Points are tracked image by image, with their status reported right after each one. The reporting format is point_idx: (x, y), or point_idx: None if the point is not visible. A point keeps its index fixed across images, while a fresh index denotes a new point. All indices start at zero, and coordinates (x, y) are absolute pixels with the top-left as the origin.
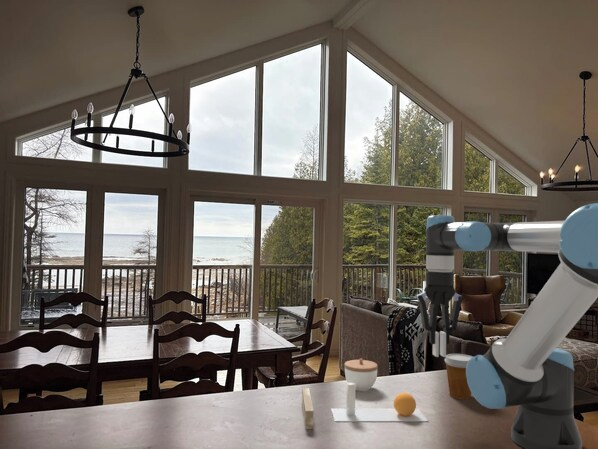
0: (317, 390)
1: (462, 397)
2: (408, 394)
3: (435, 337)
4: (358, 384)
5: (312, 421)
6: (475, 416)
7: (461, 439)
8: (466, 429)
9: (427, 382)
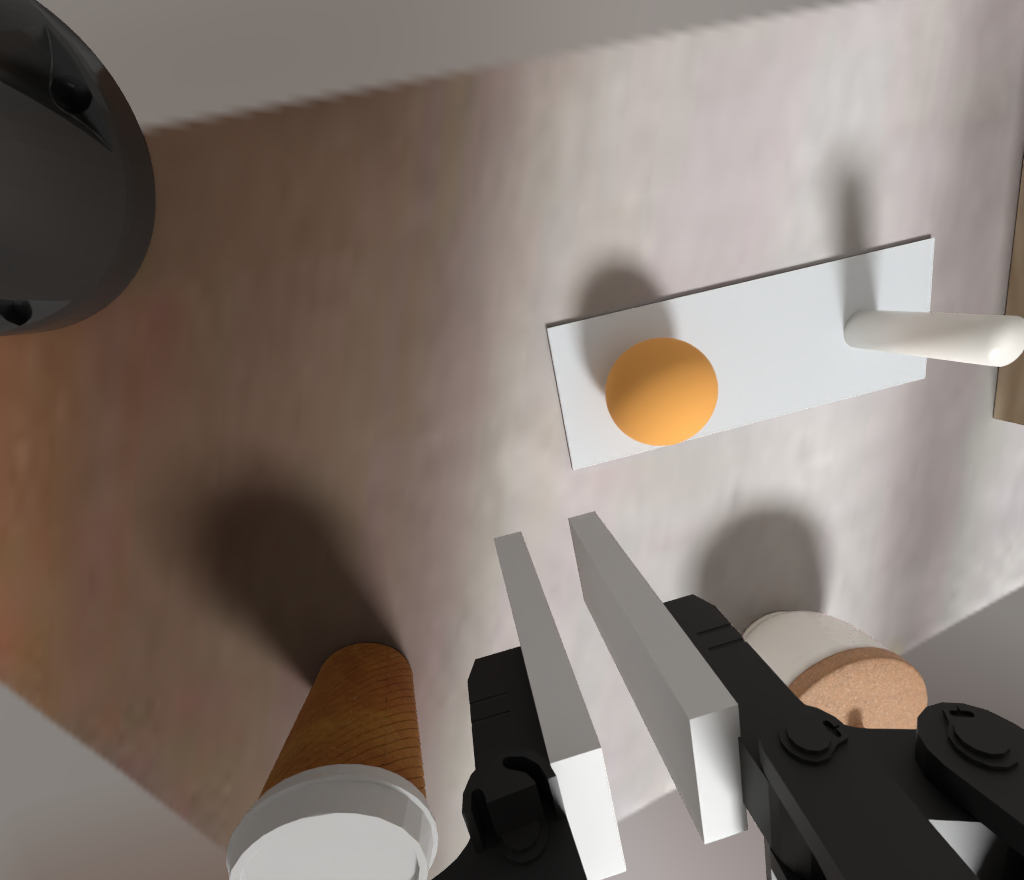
0: (937, 567)
1: (357, 647)
2: (668, 398)
3: (693, 662)
4: (813, 612)
5: None
6: (317, 449)
7: (414, 133)
8: (376, 271)
9: None
